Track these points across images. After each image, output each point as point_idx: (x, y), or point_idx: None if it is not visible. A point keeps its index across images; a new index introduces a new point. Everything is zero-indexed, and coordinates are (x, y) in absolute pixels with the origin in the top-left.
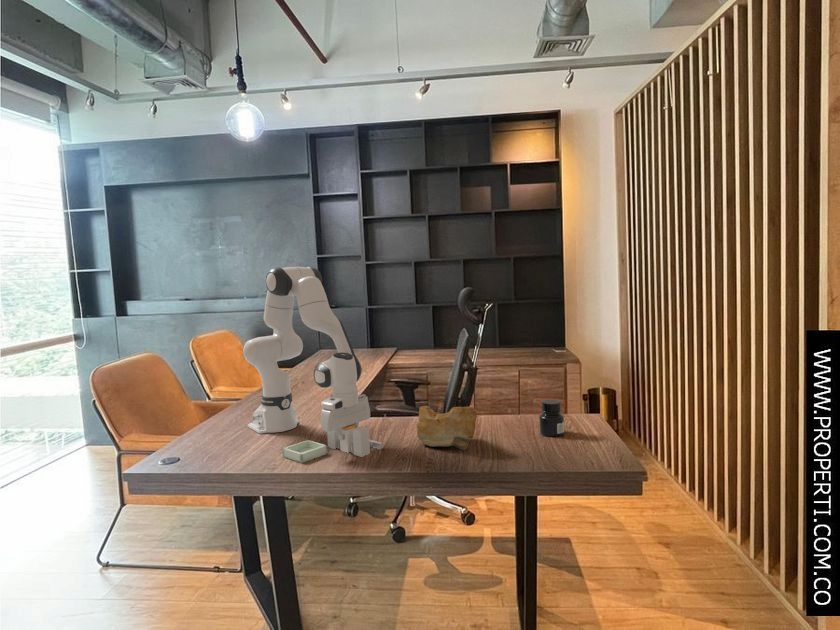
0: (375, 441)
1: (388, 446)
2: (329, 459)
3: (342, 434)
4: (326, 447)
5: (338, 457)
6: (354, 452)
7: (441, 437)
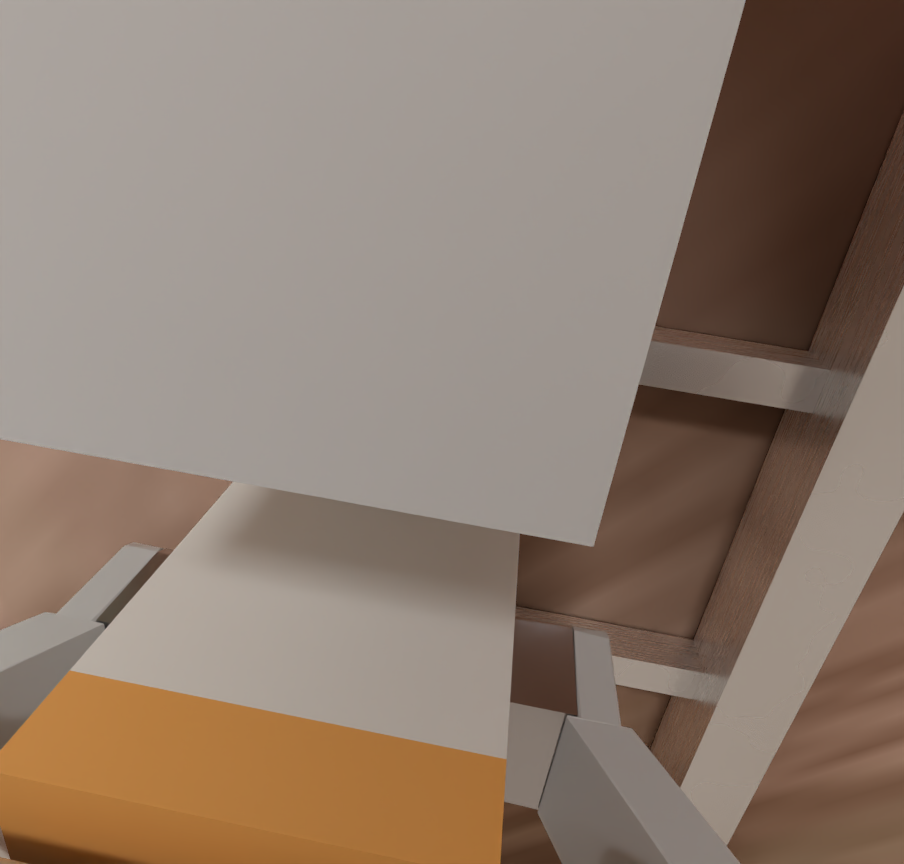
0: (728, 805)
1: (780, 836)
2: (3, 448)
3: None
4: None
5: (131, 511)
6: None
7: None
